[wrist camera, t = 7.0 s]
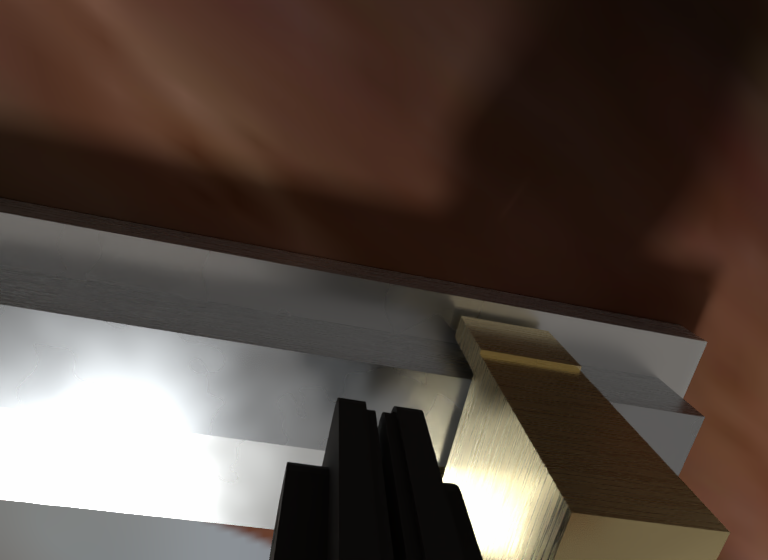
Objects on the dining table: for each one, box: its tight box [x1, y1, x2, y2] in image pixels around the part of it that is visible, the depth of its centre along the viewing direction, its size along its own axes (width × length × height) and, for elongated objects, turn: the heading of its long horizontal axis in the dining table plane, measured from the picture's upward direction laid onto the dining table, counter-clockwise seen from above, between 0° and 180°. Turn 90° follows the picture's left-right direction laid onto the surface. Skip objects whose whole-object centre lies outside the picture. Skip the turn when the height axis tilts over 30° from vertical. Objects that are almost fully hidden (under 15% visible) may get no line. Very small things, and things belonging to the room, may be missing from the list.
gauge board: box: [0, 198, 707, 529], centre depth 13 cm, size 8×26×5 cm, turn 78°
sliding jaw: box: [439, 316, 730, 560], centre depth 12 cm, size 8×2×7 cm, turn 167°
